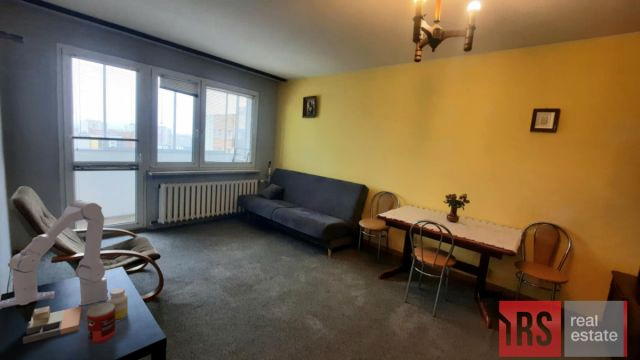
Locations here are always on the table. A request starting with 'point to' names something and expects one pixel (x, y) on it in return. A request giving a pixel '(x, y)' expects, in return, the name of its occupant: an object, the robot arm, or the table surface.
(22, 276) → the robot arm
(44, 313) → the birch block
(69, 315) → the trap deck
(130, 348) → the table surface
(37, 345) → the table surface
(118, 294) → the pill bottle
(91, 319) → the canned food
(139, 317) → the table surface
